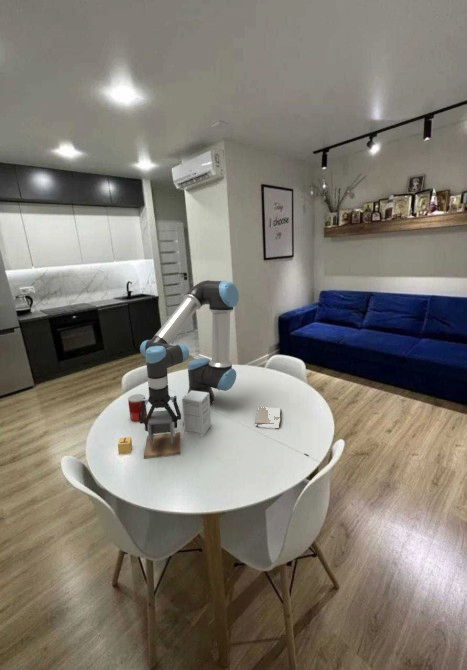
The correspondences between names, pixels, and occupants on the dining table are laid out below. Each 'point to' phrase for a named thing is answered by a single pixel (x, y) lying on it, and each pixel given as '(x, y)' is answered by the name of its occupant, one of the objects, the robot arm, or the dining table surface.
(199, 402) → the supplement box
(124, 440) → the letter cube
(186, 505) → the dining table surface
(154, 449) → the walnut board
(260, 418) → the washcloth
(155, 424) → the grey box with opening
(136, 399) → the canned food
